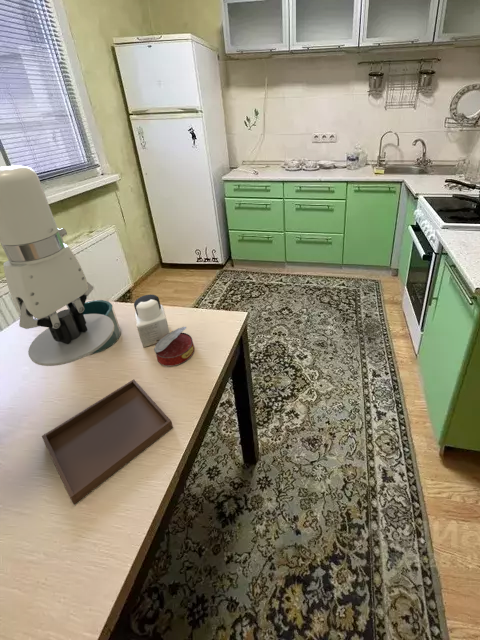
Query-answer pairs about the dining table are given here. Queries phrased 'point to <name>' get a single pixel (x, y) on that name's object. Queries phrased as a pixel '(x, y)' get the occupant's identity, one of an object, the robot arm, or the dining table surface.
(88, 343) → the lid
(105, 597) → the dining table surface
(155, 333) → the container
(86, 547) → the dining table surface
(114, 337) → the canister
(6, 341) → the dining table surface
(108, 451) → the tray
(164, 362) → the canned food
